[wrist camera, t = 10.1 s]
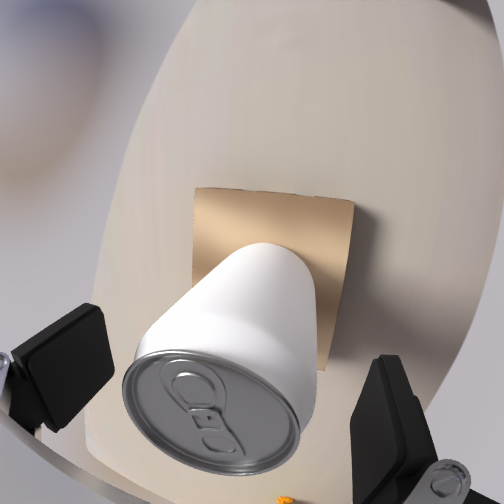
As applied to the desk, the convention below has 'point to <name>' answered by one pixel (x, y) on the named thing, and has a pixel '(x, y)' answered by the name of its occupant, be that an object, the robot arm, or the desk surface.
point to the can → (231, 366)
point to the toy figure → (284, 500)
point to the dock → (279, 240)
